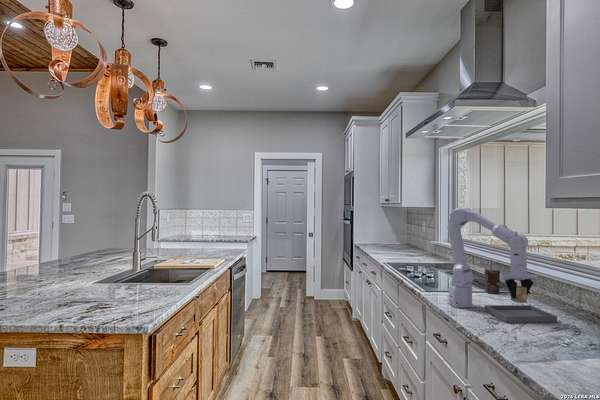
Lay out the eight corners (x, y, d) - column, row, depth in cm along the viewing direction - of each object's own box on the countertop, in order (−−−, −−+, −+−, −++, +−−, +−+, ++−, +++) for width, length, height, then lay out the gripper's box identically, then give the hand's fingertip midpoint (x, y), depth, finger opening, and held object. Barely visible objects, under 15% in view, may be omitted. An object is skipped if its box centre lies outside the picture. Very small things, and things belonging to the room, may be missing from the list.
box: (488, 293, 189) (488, 270, 189) (484, 291, 194) (484, 268, 194) (500, 293, 189) (500, 270, 189) (496, 291, 193) (496, 268, 194)
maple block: (516, 302, 148) (516, 287, 149) (511, 300, 152) (510, 285, 153) (526, 302, 148) (526, 287, 149) (520, 300, 152) (520, 285, 153)
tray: (505, 323, 142) (505, 316, 142) (484, 311, 158) (484, 305, 158) (557, 322, 142) (557, 316, 142) (530, 310, 158) (530, 305, 158)
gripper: (506, 266, 146) (506, 300, 146) (542, 266, 147) (543, 300, 146) (496, 263, 153) (497, 296, 153) (531, 263, 154) (531, 295, 153)
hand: (518, 297), depth 150 cm, fingers closed on maple block, 4 cm apart
